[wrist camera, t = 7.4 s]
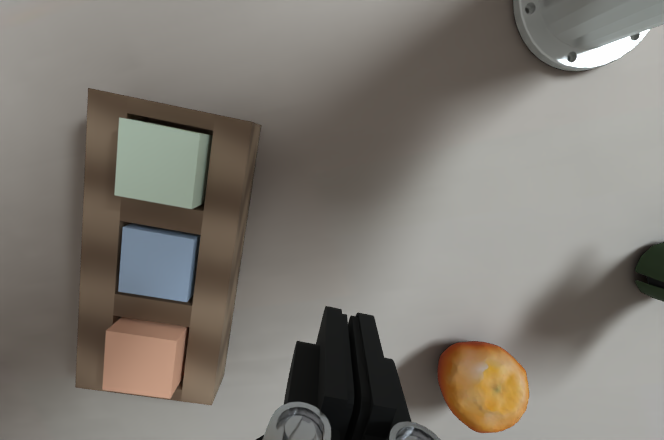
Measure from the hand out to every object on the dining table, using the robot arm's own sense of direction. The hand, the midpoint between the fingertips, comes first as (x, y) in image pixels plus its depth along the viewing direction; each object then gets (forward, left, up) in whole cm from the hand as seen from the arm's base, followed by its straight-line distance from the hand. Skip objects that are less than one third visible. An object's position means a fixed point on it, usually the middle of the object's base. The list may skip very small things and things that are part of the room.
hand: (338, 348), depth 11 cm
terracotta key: (+14, -13, -18) cm, 26 cm away
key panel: (+5, -13, -20) cm, 25 cm away
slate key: (+5, -13, -19) cm, 24 cm away
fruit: (+12, +18, -21) cm, 30 cm away
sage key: (-3, -13, -18) cm, 22 cm away
